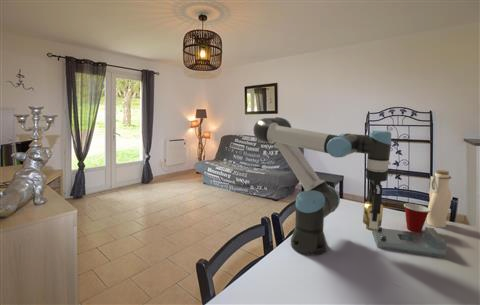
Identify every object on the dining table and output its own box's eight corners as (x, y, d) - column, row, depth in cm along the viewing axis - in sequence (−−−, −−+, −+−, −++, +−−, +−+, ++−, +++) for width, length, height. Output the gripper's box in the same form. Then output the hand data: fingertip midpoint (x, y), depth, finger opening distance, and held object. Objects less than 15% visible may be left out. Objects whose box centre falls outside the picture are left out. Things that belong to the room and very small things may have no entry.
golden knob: (363, 231, 103) (365, 206, 101) (361, 223, 109) (363, 200, 107) (382, 233, 101) (384, 208, 99) (379, 226, 107) (381, 202, 105)
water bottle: (440, 230, 124) (447, 174, 119) (420, 223, 132) (426, 170, 127) (451, 225, 128) (458, 171, 124) (431, 219, 136) (437, 168, 132)
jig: (377, 247, 109) (378, 234, 108) (372, 232, 122) (373, 221, 121) (444, 257, 101) (446, 243, 100) (431, 240, 114) (433, 228, 113)
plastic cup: (433, 232, 121) (436, 208, 119) (417, 236, 118) (419, 212, 116) (411, 223, 131) (414, 201, 129) (396, 226, 128) (398, 204, 126)
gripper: (393, 176, 90) (386, 236, 94) (382, 165, 109) (377, 216, 112) (370, 174, 93) (364, 233, 97) (363, 164, 111) (359, 213, 115)
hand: (371, 223), depth 105 cm, fingers closed on golden knob, 7 cm apart
